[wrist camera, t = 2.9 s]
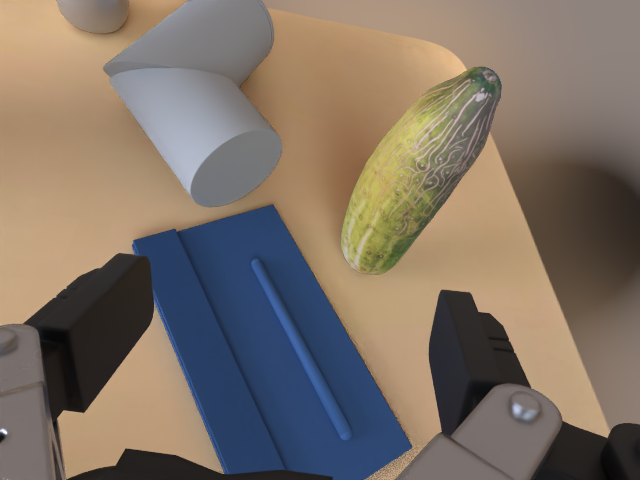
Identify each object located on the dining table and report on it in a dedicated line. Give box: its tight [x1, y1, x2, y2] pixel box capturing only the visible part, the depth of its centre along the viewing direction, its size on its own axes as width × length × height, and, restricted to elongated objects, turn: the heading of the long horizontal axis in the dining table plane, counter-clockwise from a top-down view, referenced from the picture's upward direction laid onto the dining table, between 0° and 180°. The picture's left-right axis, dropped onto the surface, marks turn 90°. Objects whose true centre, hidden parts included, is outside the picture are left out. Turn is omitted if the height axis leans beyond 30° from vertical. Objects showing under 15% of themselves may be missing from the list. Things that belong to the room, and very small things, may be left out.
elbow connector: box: [103, 0, 282, 207], centre depth 41 cm, size 18×11×20 cm
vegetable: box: [341, 67, 502, 275], centre depth 32 cm, size 6×6×20 cm
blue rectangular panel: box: [132, 205, 412, 480], centre depth 33 cm, size 22×12×1 cm, turn 30°
